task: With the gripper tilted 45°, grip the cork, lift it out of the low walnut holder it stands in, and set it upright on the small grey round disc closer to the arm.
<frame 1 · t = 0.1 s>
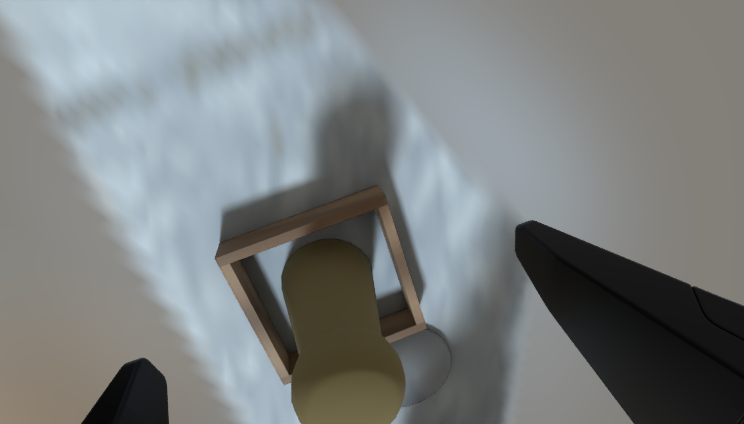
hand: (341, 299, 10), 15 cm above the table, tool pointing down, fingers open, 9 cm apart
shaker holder: (327, 280, 27), on the table
cork: (327, 278, 27), resting in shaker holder
grey round disc: (404, 366, 31), on the table
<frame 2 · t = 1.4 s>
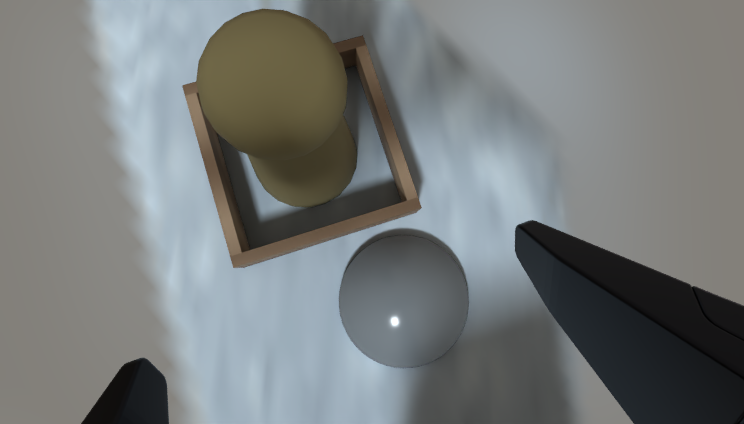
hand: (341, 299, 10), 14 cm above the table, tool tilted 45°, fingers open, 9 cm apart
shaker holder: (305, 156, 24), on the table
cork: (305, 157, 24), resting in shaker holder
grey round disc: (403, 299, 23), on the table
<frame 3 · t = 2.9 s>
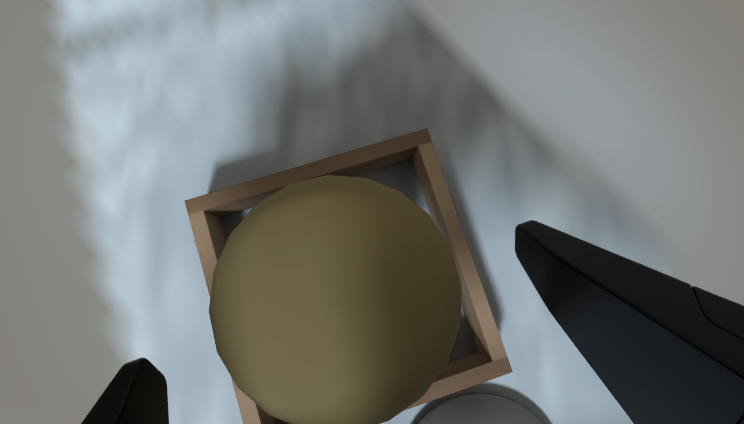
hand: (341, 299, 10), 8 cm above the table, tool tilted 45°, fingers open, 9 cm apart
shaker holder: (347, 283, 18), on the table
cork: (347, 283, 18), resting in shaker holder
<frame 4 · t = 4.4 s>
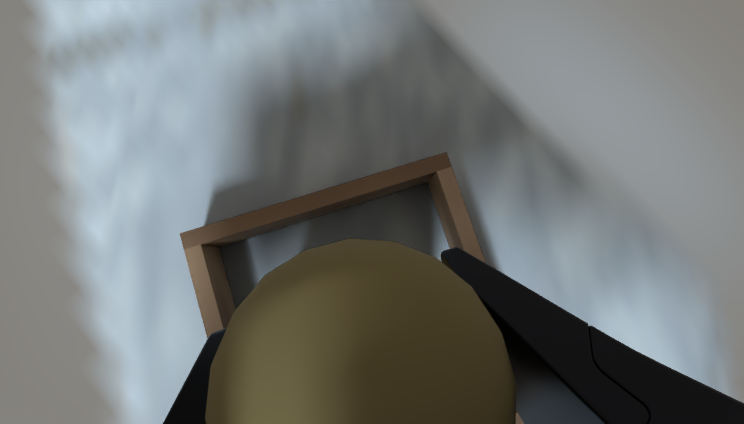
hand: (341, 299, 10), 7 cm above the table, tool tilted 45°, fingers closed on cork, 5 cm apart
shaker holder: (358, 319, 16), on the table
cork: (358, 319, 17), resting in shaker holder, touching gripper
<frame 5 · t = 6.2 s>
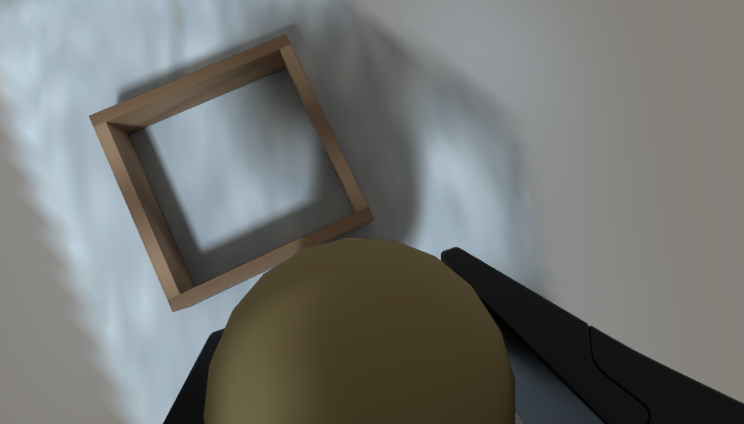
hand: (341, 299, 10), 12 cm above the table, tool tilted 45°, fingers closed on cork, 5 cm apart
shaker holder: (242, 175, 22), on the table
cork: (357, 318, 17), point 5 cm above the table, touching gripper
when the fingers open (8 cm above the table, at t = 8.0 s): cork stays where it is, resting on grey round disc.
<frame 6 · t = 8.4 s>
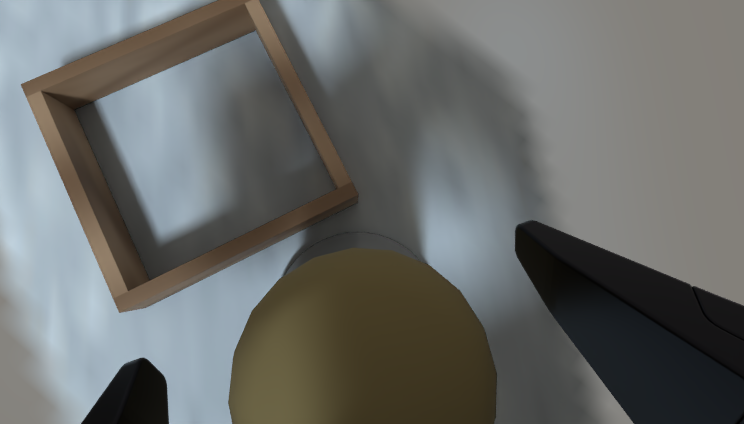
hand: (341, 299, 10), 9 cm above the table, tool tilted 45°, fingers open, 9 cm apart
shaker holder: (207, 153, 19), on the table
cork: (358, 318, 18), resting on grey round disc
grey round disc: (357, 315, 18), on the table
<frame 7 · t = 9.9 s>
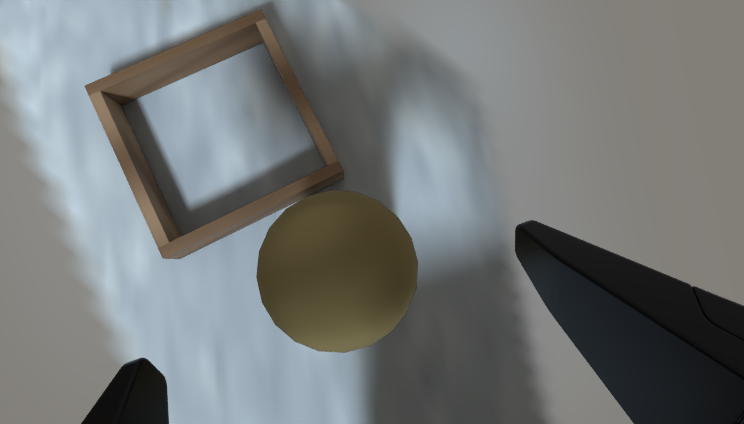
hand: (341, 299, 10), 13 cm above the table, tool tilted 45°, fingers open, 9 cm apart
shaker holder: (225, 139, 24), on the table
cork: (344, 267, 23), resting on grey round disc
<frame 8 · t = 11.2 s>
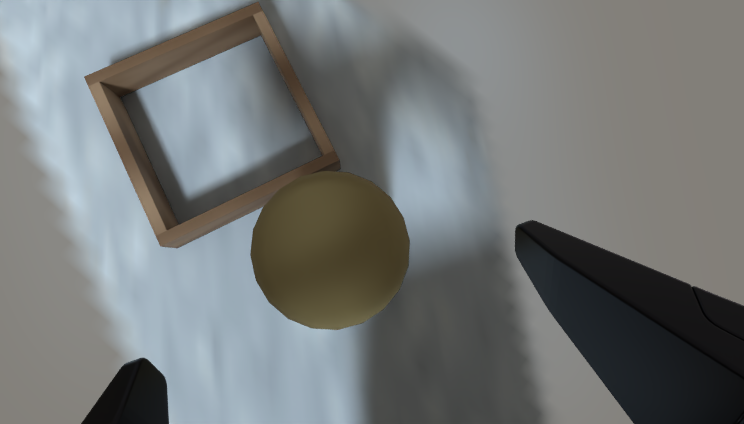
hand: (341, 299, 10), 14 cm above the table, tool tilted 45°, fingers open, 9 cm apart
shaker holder: (223, 130, 24), on the table
cork: (340, 256, 23), resting on grey round disc
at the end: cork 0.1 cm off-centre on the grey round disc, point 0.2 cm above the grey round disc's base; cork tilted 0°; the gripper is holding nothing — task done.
